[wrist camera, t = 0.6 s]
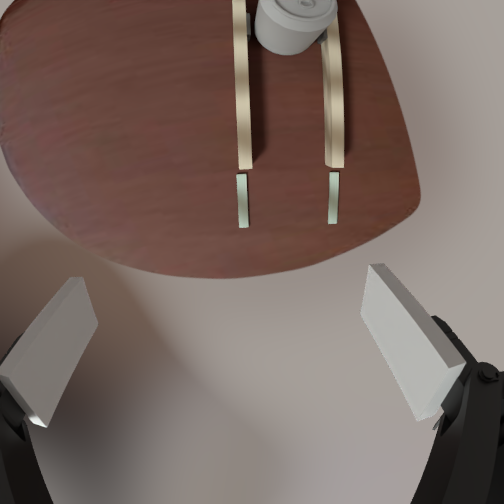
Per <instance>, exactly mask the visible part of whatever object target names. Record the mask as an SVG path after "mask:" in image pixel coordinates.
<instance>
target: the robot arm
mask: <svg viewBox="0 0 504 504" xmlns="http://www.w3.org/2000/svg"><path fill="white" fill-rule="evenodd" d="M360 315H361V317H362V319H363V320H364V322H365V324H366V326H367V327H368V329H369V331H370V333H371V335H372V336H373V338H374V339H375V342H376V343H377V345H378V347H379V349H380V351H381V353H382V354H383V356H384V358H385V360H386V362H387V364H388V366H389V367H390V369H391V371H392V373H393V375H394V377H395V379H396V381H397V383H398V385H399V387H400V388H401V390H402V392H403V394H404V396H405V398H406V400H407V402H408V404H409V406H410V408H411V410H412V412H413V414H414V417H415V419H416V421H420V420H423V419H426V418H429V417H431V416H434V414H435V413H436V412H437V410H438V409H439V407H440V406H441V407H442V409H443V410H444V413H443V415H442V416H441V417H440V419H439V420H438V421H437V423H436V424H435V426H434V427H433V430H435V429H436V428H437V426H438V425H439V427H438V431H437V434H436V437H435V440H434V444H433V447H432V450H431V453H430V456H429V459H428V462H427V464H426V467H425V470H424V472H423V475H422V478H421V480H420V483H419V485H418V488H417V490H416V492H415V494H414V497H413V499H412V501H411V503H410V504H504V371H503V372H499V371H498V369H497V368H496V367H494V366H493V365H491V364H489V363H486V362H480V363H478V362H477V361H476V359H475V358H474V357H473V356H472V354H471V353H470V352H469V351H468V349H467V348H466V347H465V345H464V344H463V343H462V342H461V340H460V339H458V337H457V336H456V334H455V333H454V332H452V329H451V328H450V327H449V326H448V325H447V323H446V322H445V321H443V320H441V319H440V318H438V317H437V316H430V315H429V314H428V313H427V312H426V311H425V309H424V308H423V307H422V306H421V305H420V303H419V302H418V301H417V300H416V299H415V298H414V296H413V295H412V294H411V293H410V292H409V291H408V290H407V288H405V286H404V285H403V284H402V283H401V282H400V281H399V280H398V278H397V277H396V276H395V275H394V274H393V273H392V272H391V271H390V270H389V269H388V267H387V266H385V264H384V263H382V264H369V269H368V275H367V280H366V286H365V292H364V297H363V302H362V307H361V312H360ZM97 326H98V321H97V318H96V316H95V313H94V310H93V307H92V304H91V301H90V298H89V295H88V292H87V290H86V286H85V283H84V279H83V277H70V278H69V279H68V280H67V282H66V283H65V284H64V285H63V286H62V287H61V288H60V289H59V291H58V292H57V293H56V294H55V295H54V297H53V298H52V299H51V300H50V301H49V302H48V304H47V305H46V306H45V307H44V308H43V310H42V311H41V312H40V313H39V315H38V316H37V317H36V318H35V320H34V321H33V322H32V323H31V325H30V326H29V327H28V329H27V330H26V331H25V332H24V333H23V334H21V335H20V336H19V337H18V338H17V339H16V340H15V341H14V343H13V344H12V347H10V348H9V350H8V351H7V354H5V355H4V357H3V358H2V360H1V361H0V504H53V501H52V499H51V497H50V494H49V492H48V489H47V487H46V484H45V482H44V479H43V476H42V474H41V471H40V468H39V465H38V462H37V459H36V456H35V453H34V449H33V446H32V442H31V439H30V435H29V431H28V428H27V425H26V422H25V421H24V420H23V418H24V416H25V414H26V415H27V416H28V417H29V418H30V420H31V421H32V422H33V423H34V424H38V425H40V426H43V427H48V424H49V422H50V420H51V418H52V415H53V413H54V411H55V409H56V406H57V404H58V402H59V400H60V398H61V395H62V393H63V391H64V389H65V387H66V385H67V383H68V381H69V379H70V377H71V375H72V373H73V371H74V369H75V367H76V365H77V363H78V361H79V359H80V357H81V356H82V353H83V352H84V350H85V348H86V346H87V344H88V342H89V341H90V339H91V337H92V335H93V333H94V332H95V330H96V328H97Z"/></svg>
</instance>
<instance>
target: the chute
mask: <svg viewBox="0 0 504 504" xmlns="http://www.w3.org/2000/svg"><path fill="white" fill-rule="evenodd" d="M232 4H233V34H234V61H235V86H236V110H237V133H238V155H239V169H252V148H251V123H250V98H249V74H248V51H247V41H250V36H251V28H250V13H246V5H245V0H232ZM317 41H318V44H321V50H322V65H323V83H324V110H325V165H327V166H330V167H332V168H344V104H343V79H342V63H341V49H340V38H339V28H338V19H337V14H336V18H335V19H334V20H333V21H332V23H331V24H330V25H329V26H328V27H327V28H326V29H325V30H324V31H323V32H322V33H321V34H320V36H319V37H318V38H317ZM338 189H339V172H330V180H329V211H328V224H336V223H337V212H338ZM237 192H238V211H239V228H243V227H249V225H248V202H247V179H246V174H237Z"/></svg>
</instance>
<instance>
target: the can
mask: <svg viewBox="0 0 504 504" xmlns="http://www.w3.org/2000/svg"><path fill="white" fill-rule="evenodd" d="M337 10H338V7H337V1H336V0H259V2H258V7H257V13H256V19H255V24H254V30H255V35H256V37H257V39H258V41H259V42H260V43H261V44H262V45H263V46H264V47H265V48H266V49H268V50H270V51H271V52H273V53H277V54H281V55H294V54H298V53H301V52H303V51H304V50H306V49H307V48H308V47H309V46H310V45H311V44H312V43H313V42H314V41H315V40H316V39H317V38H318V37H319V36H320V34H321V33H322V32H323V31H324V30H325V29H326V28H327V27H328V26H329V25H330V24H331V23H332V21H333V20H334V19H335V18H336V14H337Z"/></svg>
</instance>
